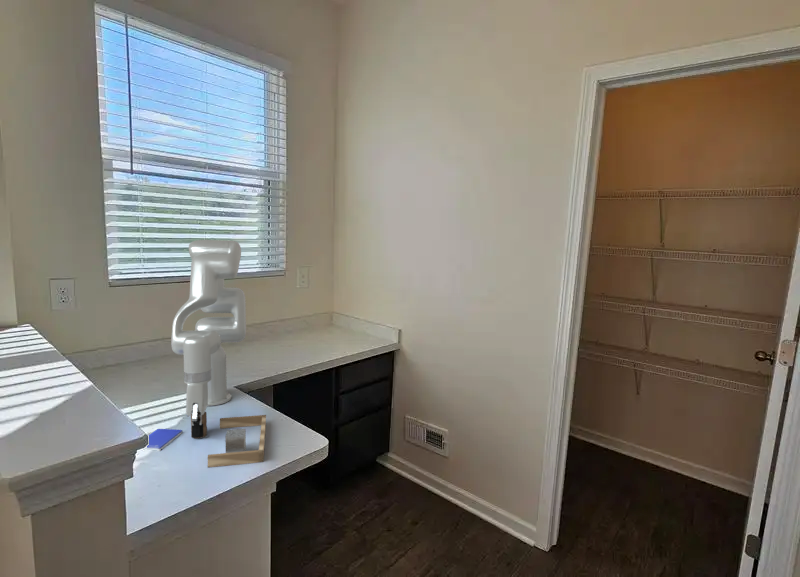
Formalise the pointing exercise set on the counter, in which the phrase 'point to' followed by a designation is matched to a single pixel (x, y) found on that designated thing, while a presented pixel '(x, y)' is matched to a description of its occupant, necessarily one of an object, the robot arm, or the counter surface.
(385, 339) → the counter surface
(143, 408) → the counter surface
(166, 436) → the hard drive
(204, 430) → the cylinder
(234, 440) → the block
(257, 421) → the corral
